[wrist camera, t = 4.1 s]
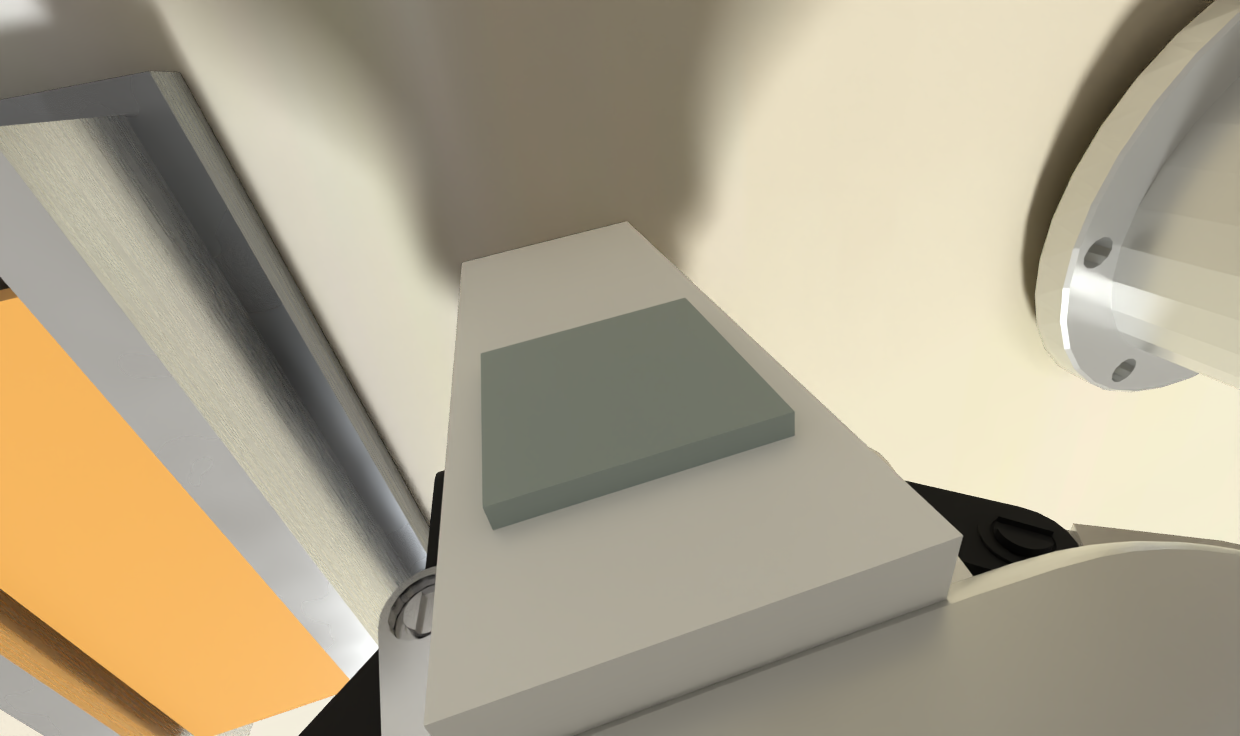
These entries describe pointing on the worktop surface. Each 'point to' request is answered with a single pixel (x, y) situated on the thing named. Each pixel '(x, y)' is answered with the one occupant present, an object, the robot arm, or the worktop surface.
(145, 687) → the orange rectangular panel
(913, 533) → the block
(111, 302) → the rail
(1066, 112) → the worktop surface
